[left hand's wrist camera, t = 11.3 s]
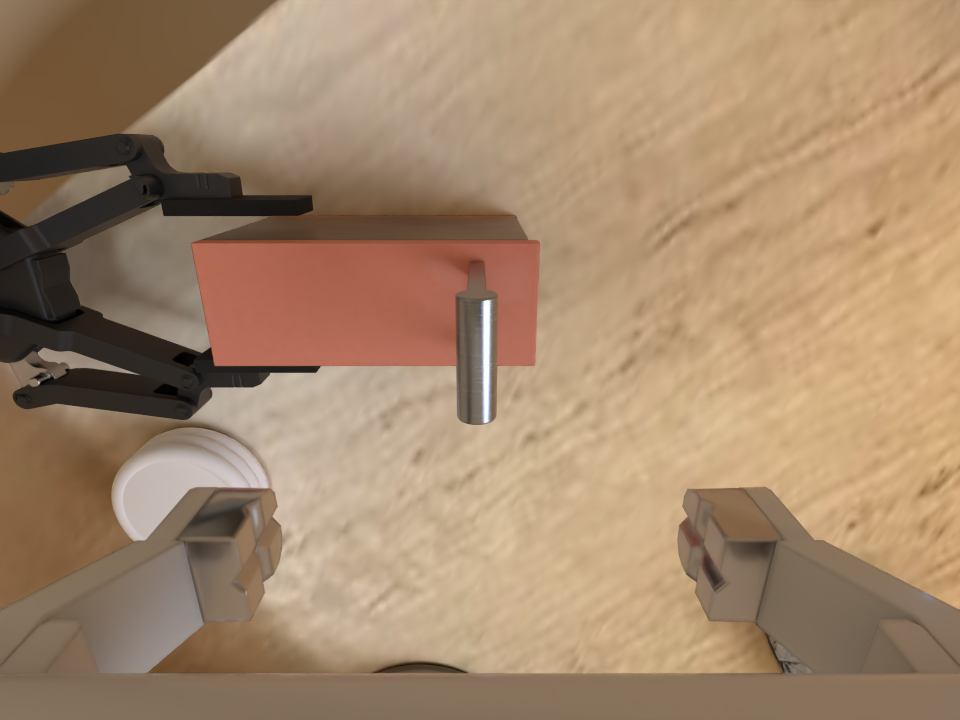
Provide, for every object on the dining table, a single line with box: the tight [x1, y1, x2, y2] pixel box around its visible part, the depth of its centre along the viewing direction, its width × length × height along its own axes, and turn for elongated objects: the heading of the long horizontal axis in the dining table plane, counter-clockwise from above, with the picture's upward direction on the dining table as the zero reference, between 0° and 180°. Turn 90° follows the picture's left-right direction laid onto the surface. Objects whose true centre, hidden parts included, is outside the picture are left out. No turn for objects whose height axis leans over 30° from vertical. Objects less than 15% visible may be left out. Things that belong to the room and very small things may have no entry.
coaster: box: [111, 427, 269, 542], centre depth 39 cm, size 10×10×4 cm
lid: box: [191, 240, 540, 425], centre depth 22 cm, size 16×6×8 cm, turn 90°
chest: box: [202, 216, 528, 240], centre depth 30 cm, size 15×6×10 cm, turn 90°
